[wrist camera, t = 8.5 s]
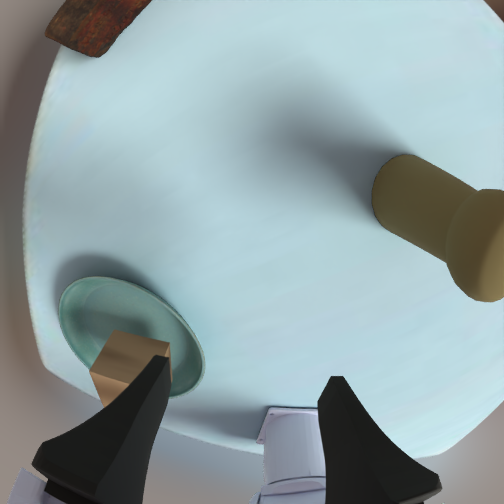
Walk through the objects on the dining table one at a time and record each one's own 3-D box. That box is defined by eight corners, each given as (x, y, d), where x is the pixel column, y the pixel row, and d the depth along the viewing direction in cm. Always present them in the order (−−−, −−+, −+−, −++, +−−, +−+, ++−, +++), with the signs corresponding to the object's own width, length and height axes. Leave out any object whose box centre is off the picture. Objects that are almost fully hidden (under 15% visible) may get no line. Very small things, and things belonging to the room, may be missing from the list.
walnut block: (172, 380, 22) (159, 423, 18) (122, 367, 22) (104, 407, 18) (169, 342, 20) (152, 390, 16) (114, 329, 20) (88, 370, 16)
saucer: (52, 262, 21) (36, 275, 19) (196, 259, 20) (188, 276, 18) (100, 372, 27) (92, 388, 25) (219, 386, 26) (216, 406, 24)
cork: (376, 147, 16) (494, 176, 6) (444, 162, 16) (557, 204, 6) (365, 231, 19) (447, 329, 8) (430, 237, 18) (519, 317, 8)
